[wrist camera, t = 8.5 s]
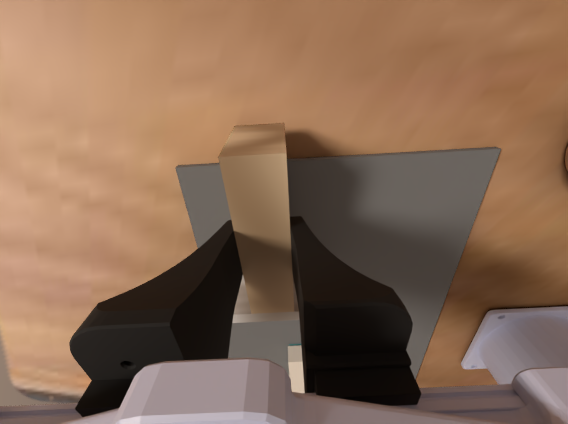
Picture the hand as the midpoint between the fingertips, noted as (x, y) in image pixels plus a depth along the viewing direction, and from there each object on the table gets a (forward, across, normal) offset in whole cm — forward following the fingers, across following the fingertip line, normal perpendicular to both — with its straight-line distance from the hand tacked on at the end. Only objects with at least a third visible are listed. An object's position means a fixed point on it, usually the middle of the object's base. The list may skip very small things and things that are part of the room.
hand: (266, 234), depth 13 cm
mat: (+3, -4, +10) cm, 11 cm away
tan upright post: (+3, 0, +1) cm, 3 cm away
